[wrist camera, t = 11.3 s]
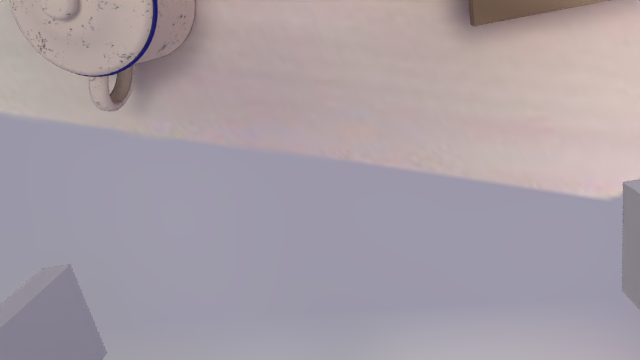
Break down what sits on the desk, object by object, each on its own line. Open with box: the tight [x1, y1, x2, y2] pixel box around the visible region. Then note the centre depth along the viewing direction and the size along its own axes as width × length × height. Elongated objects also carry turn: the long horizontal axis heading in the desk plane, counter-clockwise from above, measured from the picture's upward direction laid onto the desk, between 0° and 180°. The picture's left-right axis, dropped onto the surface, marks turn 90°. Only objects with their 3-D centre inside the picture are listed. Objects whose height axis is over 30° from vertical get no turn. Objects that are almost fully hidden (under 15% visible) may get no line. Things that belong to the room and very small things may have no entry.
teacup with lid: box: [10, 0, 195, 111], centre depth 33 cm, size 12×9×12 cm
